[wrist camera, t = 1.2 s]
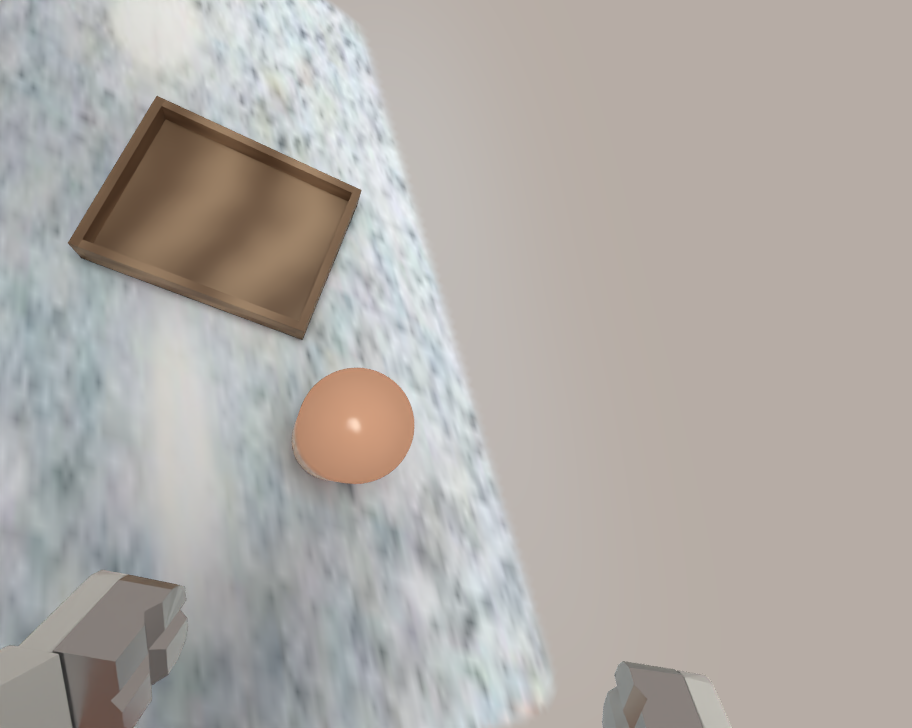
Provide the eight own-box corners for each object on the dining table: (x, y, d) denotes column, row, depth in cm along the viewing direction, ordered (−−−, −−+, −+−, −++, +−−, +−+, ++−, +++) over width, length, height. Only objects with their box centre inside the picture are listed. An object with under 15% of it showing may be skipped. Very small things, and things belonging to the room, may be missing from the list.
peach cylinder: (278, 466, 37) (279, 463, 26) (309, 386, 39) (322, 351, 28) (360, 491, 38) (394, 498, 27) (386, 412, 40) (427, 390, 29)
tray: (81, 258, 35) (67, 242, 33) (163, 118, 39) (156, 95, 37) (302, 339, 39) (304, 331, 37) (356, 205, 43) (361, 190, 41)
